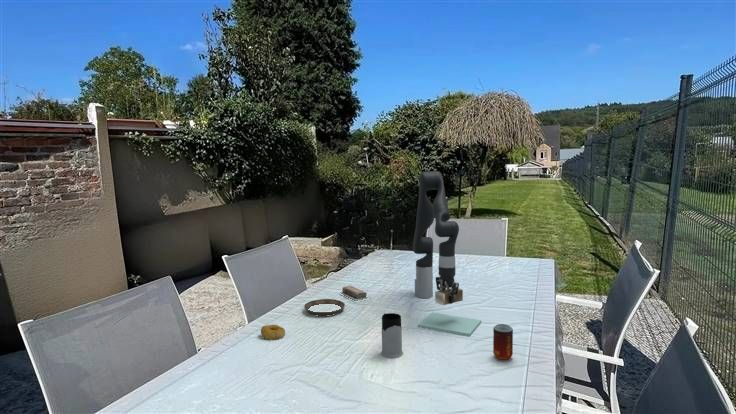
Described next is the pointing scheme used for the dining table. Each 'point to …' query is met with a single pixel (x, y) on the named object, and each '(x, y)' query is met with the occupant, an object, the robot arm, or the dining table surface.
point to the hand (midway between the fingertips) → (447, 301)
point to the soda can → (503, 342)
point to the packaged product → (354, 293)
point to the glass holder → (391, 336)
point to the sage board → (450, 324)
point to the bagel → (272, 332)
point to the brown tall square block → (447, 297)
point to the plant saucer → (324, 301)
